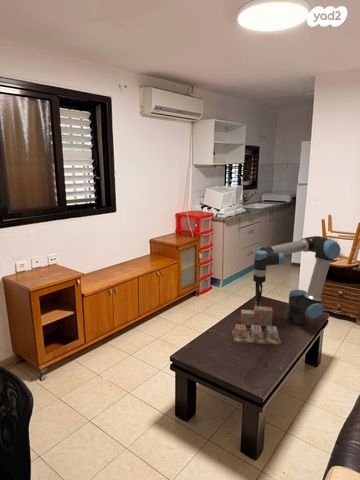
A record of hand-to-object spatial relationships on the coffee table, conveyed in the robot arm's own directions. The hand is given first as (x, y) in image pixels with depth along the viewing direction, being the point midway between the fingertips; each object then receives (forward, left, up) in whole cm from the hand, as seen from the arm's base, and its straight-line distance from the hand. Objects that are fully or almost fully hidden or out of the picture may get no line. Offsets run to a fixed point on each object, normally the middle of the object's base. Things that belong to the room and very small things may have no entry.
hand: (257, 309), depth 210 cm
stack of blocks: (-3, -20, -21) cm, 29 cm away
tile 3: (+10, 0, -16) cm, 19 cm away
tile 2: (0, 0, -16) cm, 16 cm away
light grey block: (-10, 0, -16) cm, 19 cm away
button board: (0, 0, -20) cm, 20 cm away
